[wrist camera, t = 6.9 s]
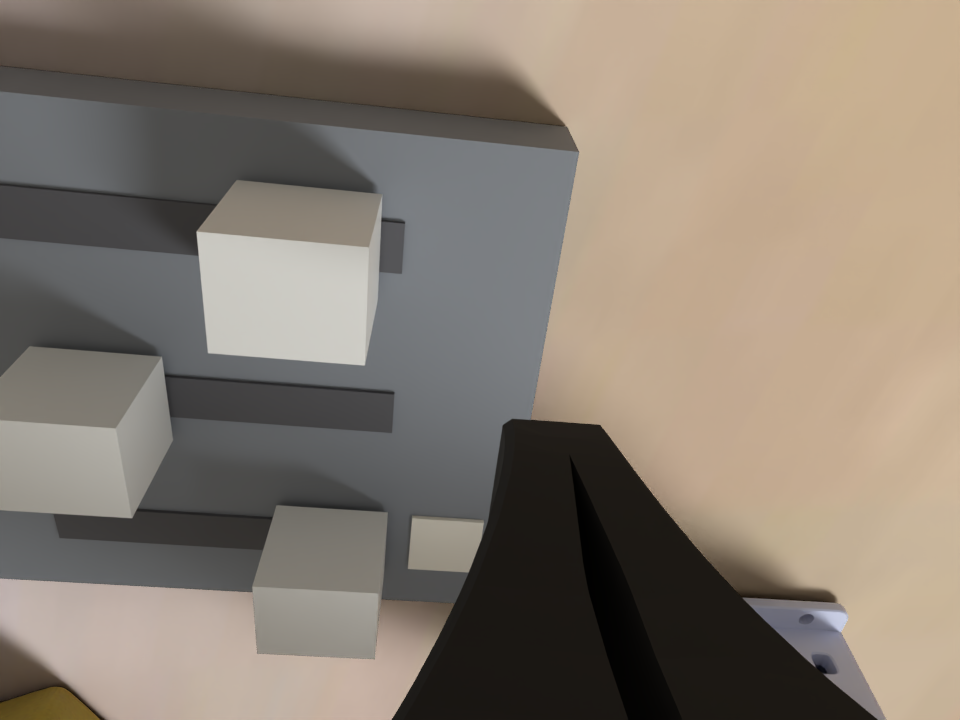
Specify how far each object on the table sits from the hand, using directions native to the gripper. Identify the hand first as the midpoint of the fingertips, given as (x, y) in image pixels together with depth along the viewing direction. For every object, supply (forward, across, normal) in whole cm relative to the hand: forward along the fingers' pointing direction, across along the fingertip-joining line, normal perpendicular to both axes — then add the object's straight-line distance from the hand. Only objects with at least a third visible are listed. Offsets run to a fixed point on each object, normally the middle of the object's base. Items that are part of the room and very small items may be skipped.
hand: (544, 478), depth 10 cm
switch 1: (+7, +9, +4) cm, 13 cm away
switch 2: (+7, +4, 0) cm, 8 cm away
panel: (+9, +7, +4) cm, 12 cm away
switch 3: (+7, +4, +9) cm, 12 cm away
